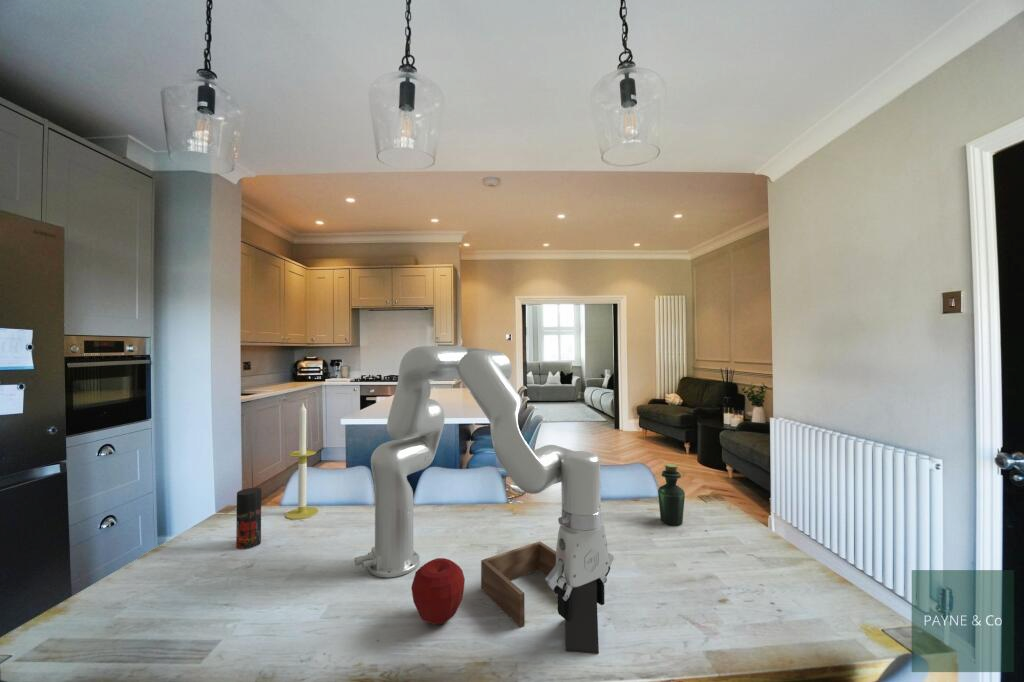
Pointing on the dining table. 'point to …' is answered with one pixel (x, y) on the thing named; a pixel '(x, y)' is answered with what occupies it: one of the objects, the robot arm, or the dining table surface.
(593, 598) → the phone stand
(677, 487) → the potion bottle
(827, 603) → the dining table surface
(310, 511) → the candle
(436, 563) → the apple
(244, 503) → the deodorant
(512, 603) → the open box
